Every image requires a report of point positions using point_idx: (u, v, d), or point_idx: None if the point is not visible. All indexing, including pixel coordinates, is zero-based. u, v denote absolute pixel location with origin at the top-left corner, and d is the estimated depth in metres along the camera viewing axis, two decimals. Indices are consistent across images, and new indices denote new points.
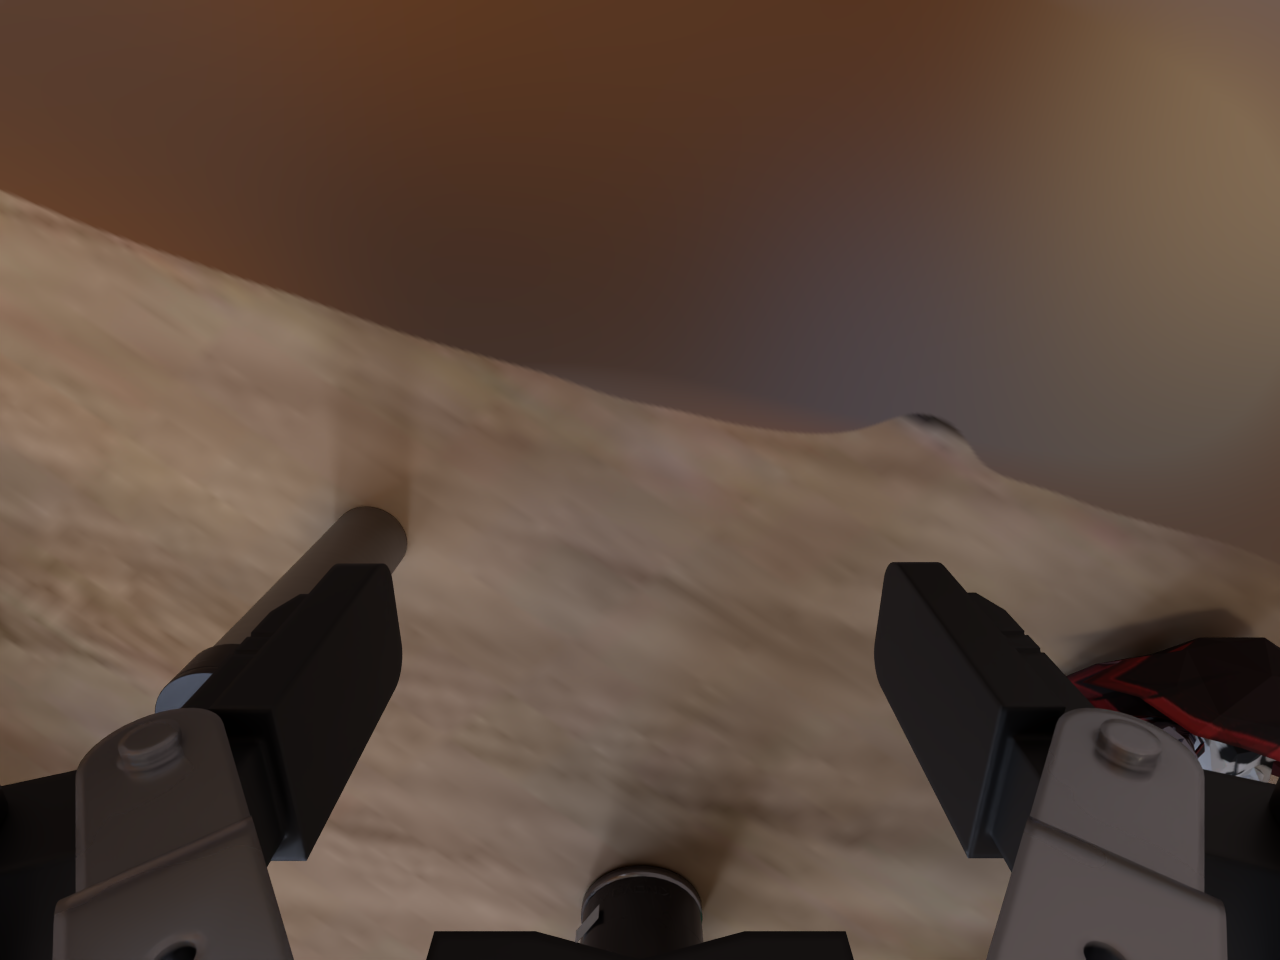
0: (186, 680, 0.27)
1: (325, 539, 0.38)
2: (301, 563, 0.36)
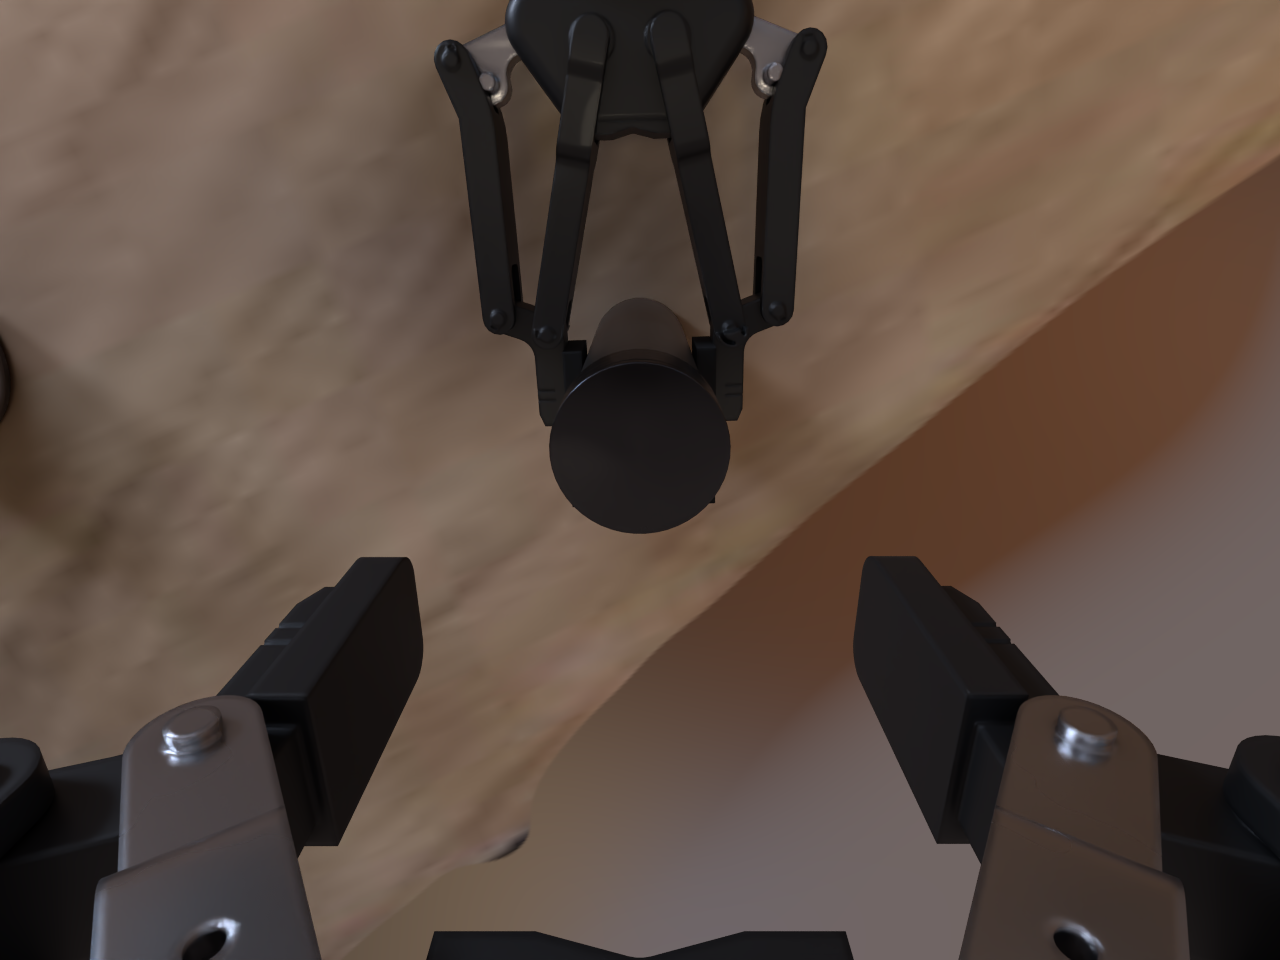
0: (721, 460, 0.19)
1: None
2: None
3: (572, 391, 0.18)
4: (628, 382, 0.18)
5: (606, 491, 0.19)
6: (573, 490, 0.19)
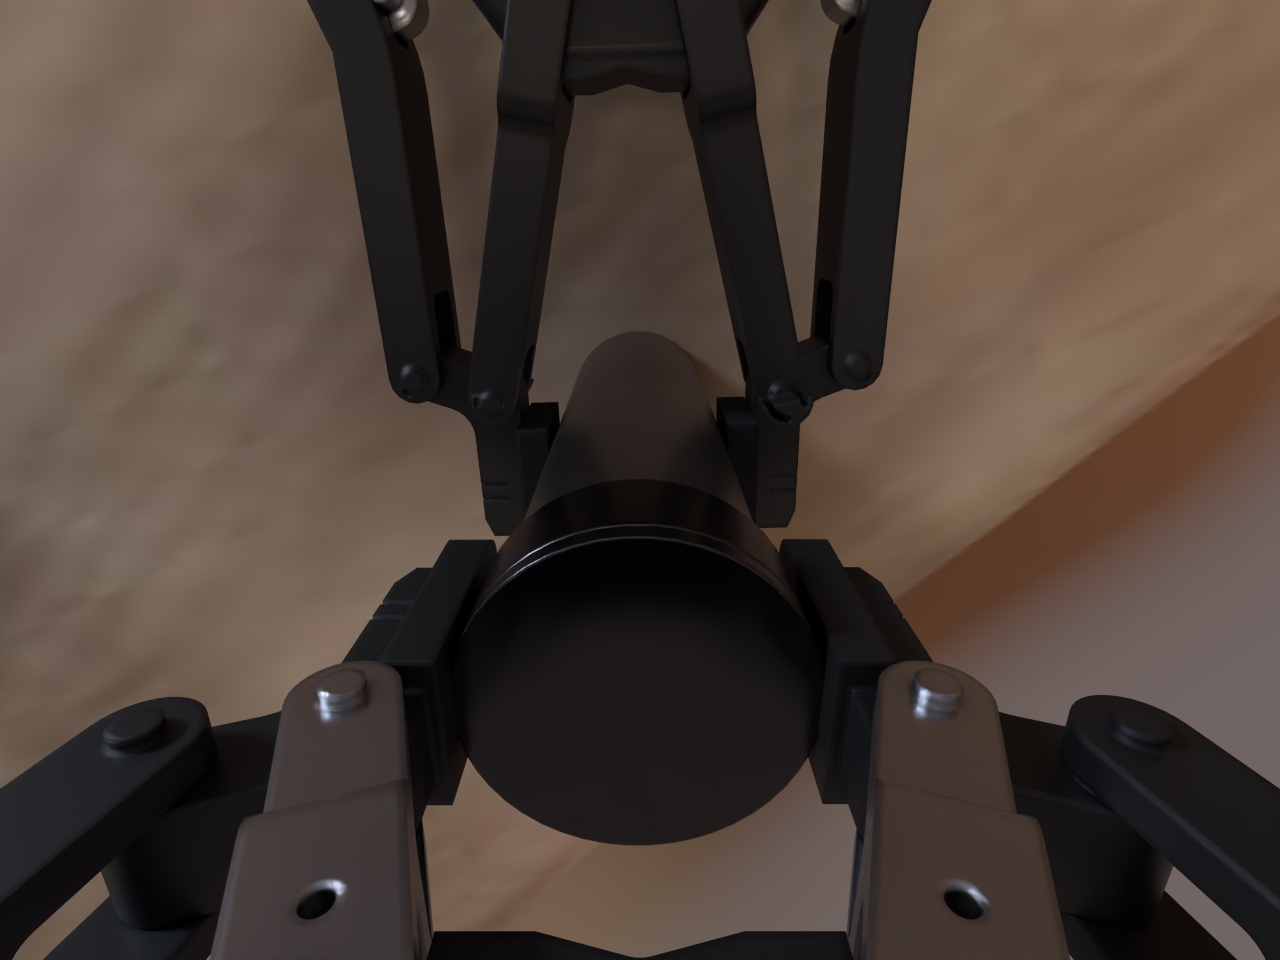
0: (805, 720, 0.09)
1: None
2: None
3: (492, 593, 0.09)
4: (613, 576, 0.08)
5: (570, 775, 0.10)
6: (503, 773, 0.10)
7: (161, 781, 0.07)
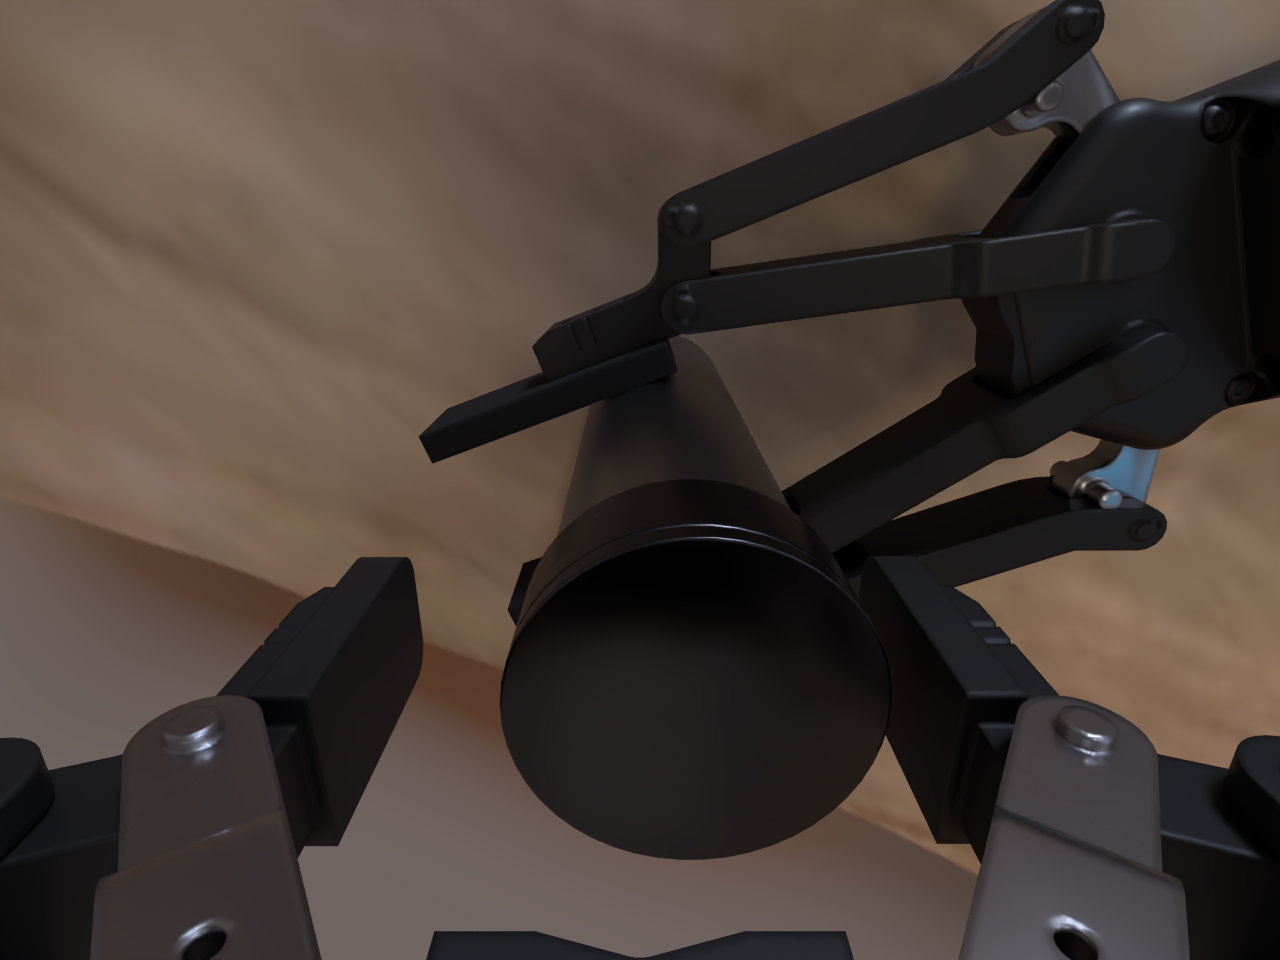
0: (870, 670, 0.09)
1: None
2: None
3: (509, 657, 0.08)
4: (611, 600, 0.08)
5: (662, 803, 0.09)
6: (598, 822, 0.09)
7: None
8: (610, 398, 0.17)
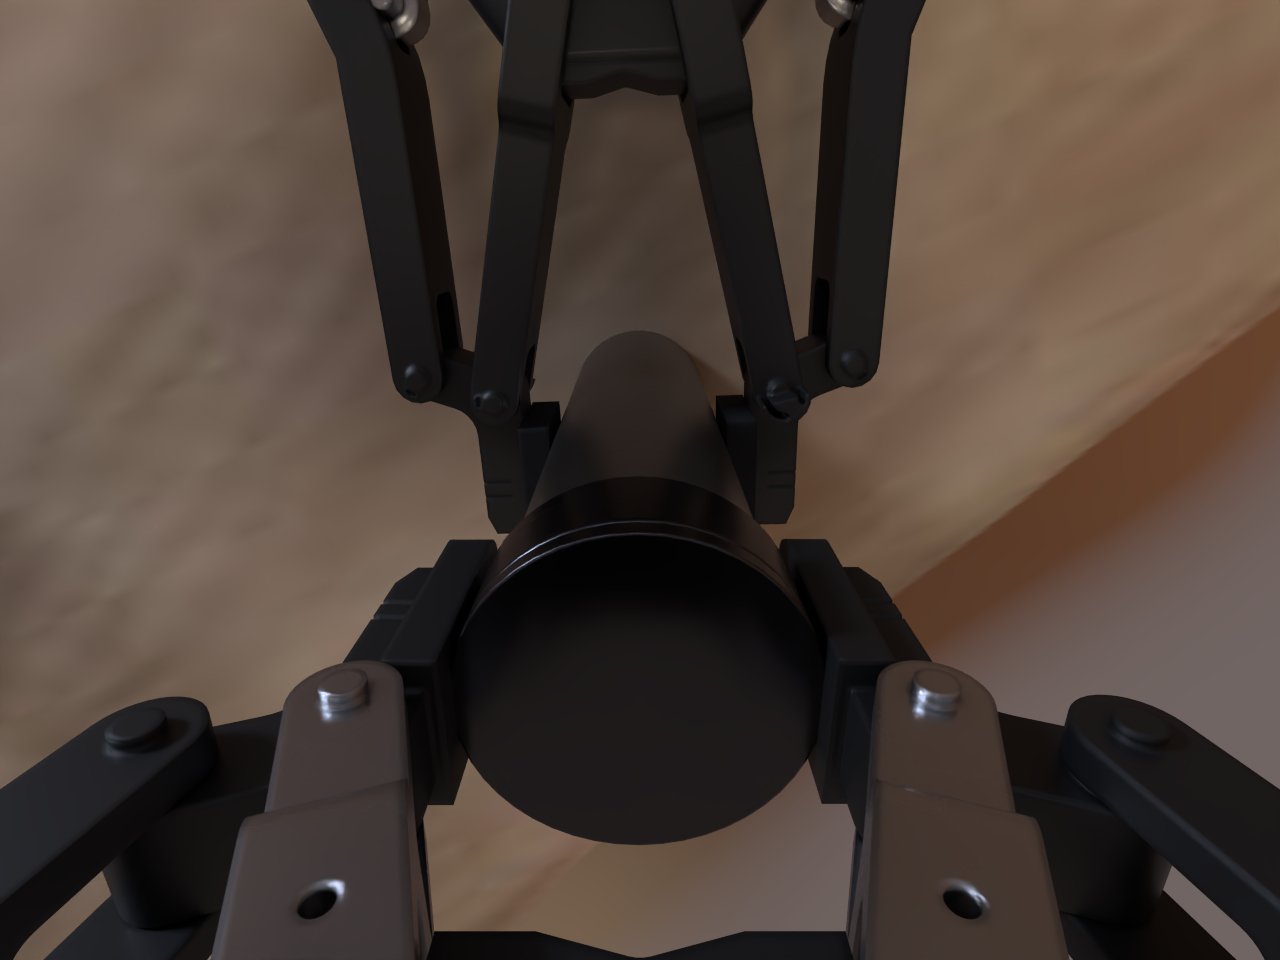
0: (643, 550, 0.08)
1: None
2: None
3: (528, 813, 0.10)
4: (495, 731, 0.09)
5: (728, 755, 0.09)
6: (728, 807, 0.10)
7: (163, 781, 0.07)
8: None
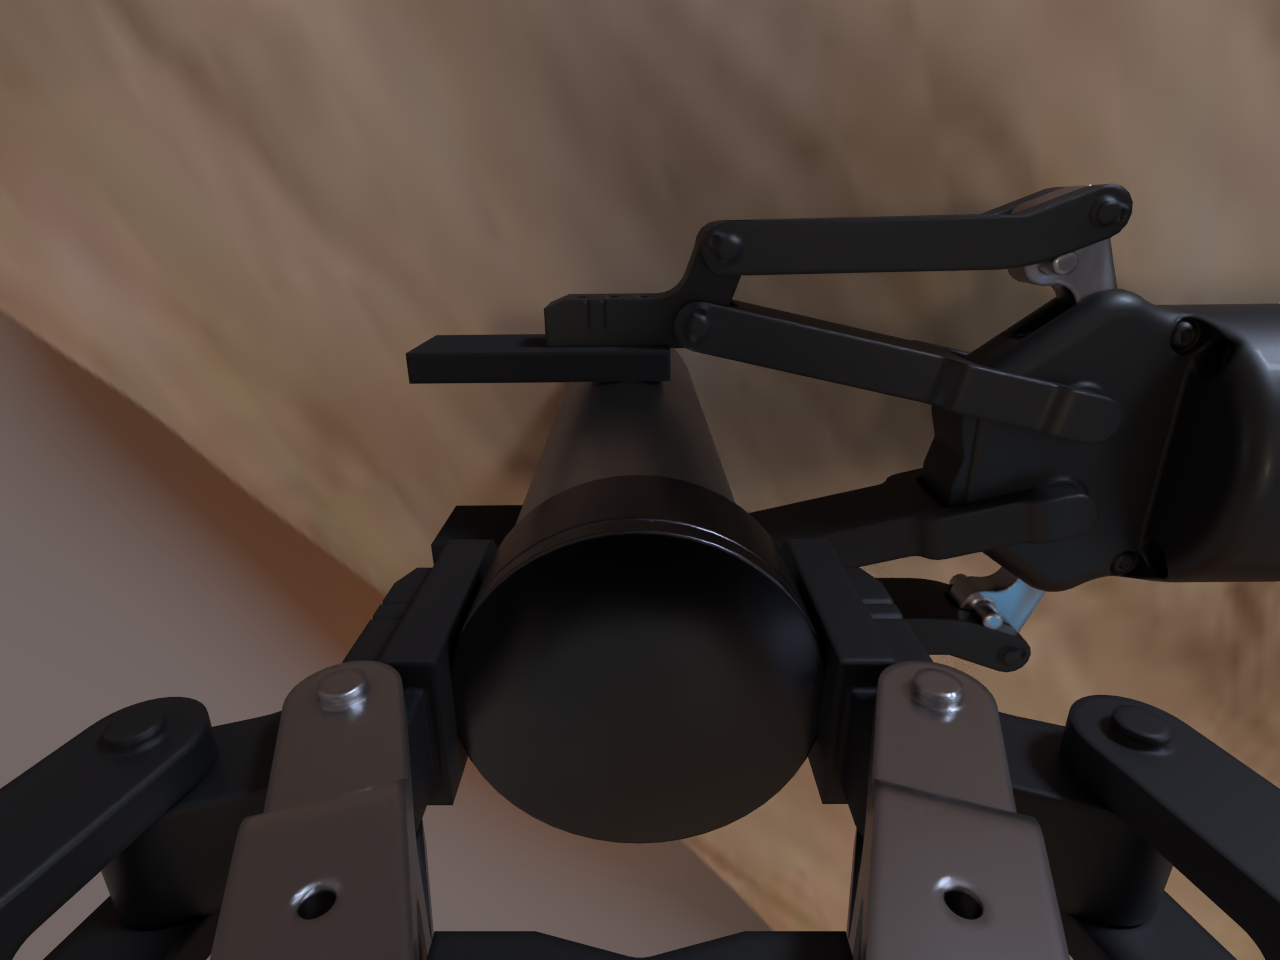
0: (644, 548, 0.08)
1: None
2: None
3: (528, 812, 0.10)
4: (495, 730, 0.09)
5: (728, 754, 0.09)
6: (728, 805, 0.10)
7: (162, 781, 0.07)
8: (601, 383, 0.18)
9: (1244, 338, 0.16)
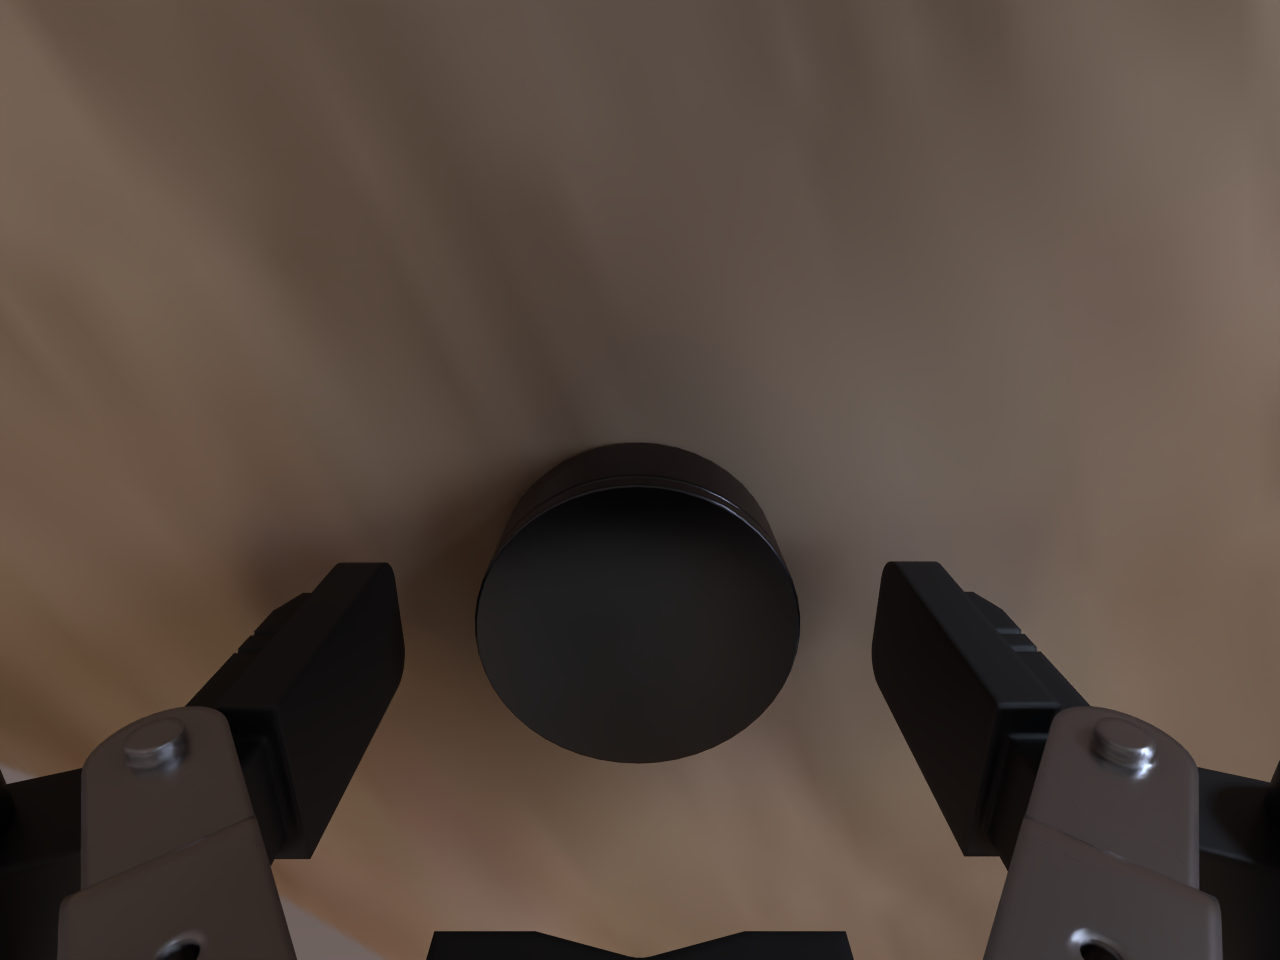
0: (642, 500, 0.10)
1: None
2: None
3: (542, 735, 0.11)
4: (514, 660, 0.11)
5: (715, 682, 0.11)
6: (715, 729, 0.11)
7: None
8: None
9: None
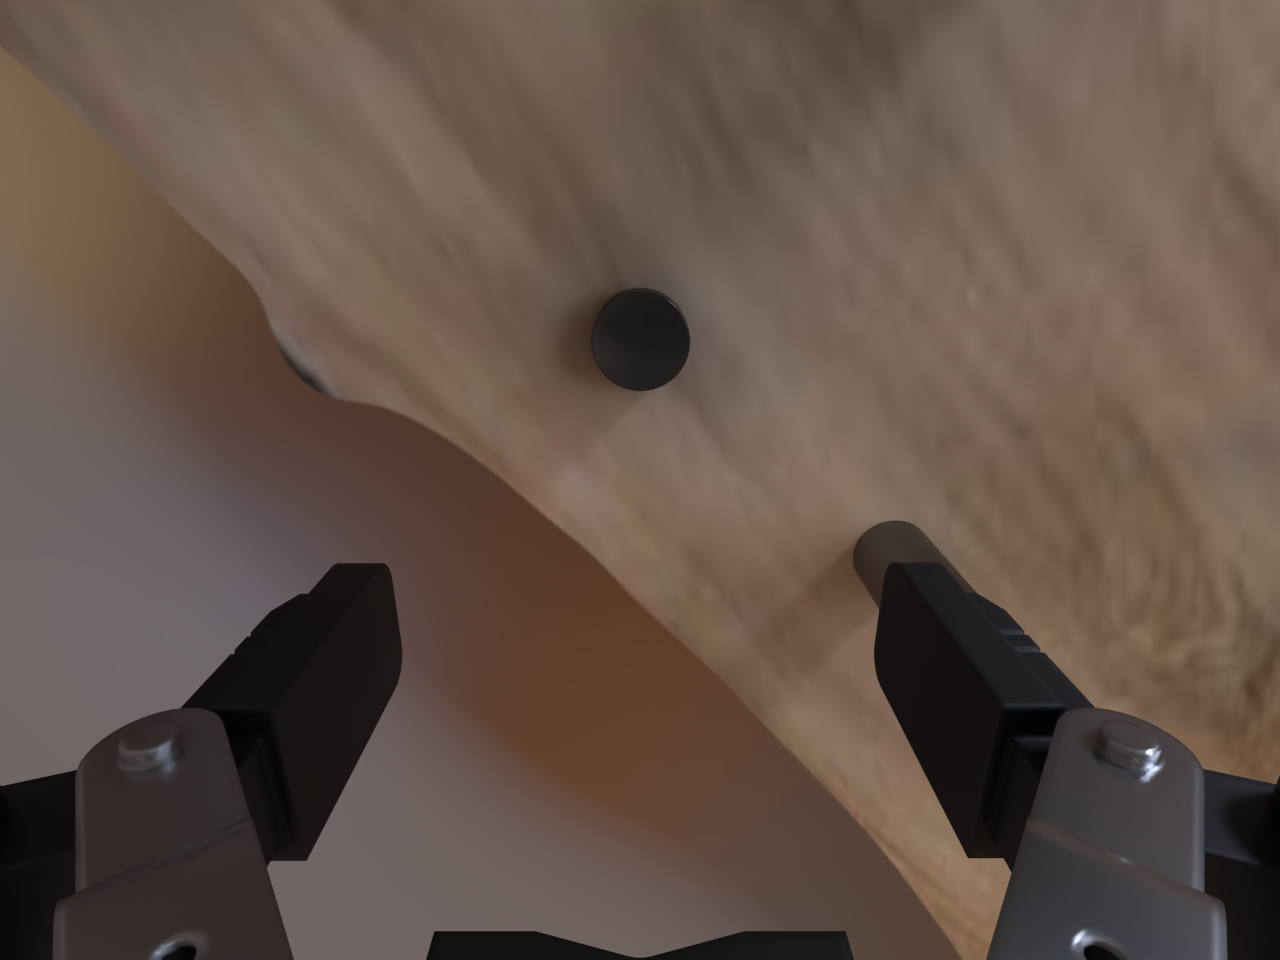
0: (642, 296, 0.34)
1: None
2: None
3: (610, 379, 0.35)
4: (602, 351, 0.35)
5: (664, 359, 0.35)
6: (665, 377, 0.35)
7: None
8: None
9: None
